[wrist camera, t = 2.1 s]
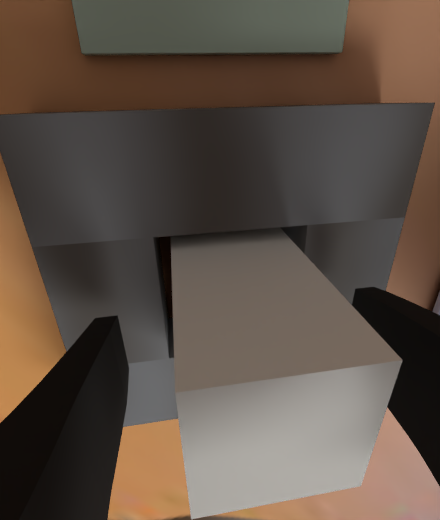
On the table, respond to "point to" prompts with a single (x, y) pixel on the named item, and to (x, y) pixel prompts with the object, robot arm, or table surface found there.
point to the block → (270, 373)
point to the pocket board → (202, 205)
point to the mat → (210, 27)
